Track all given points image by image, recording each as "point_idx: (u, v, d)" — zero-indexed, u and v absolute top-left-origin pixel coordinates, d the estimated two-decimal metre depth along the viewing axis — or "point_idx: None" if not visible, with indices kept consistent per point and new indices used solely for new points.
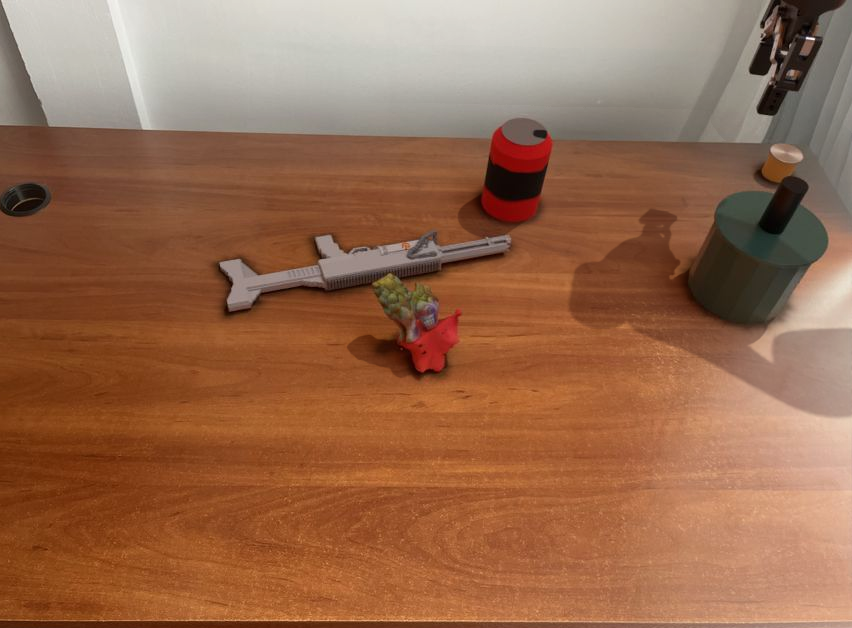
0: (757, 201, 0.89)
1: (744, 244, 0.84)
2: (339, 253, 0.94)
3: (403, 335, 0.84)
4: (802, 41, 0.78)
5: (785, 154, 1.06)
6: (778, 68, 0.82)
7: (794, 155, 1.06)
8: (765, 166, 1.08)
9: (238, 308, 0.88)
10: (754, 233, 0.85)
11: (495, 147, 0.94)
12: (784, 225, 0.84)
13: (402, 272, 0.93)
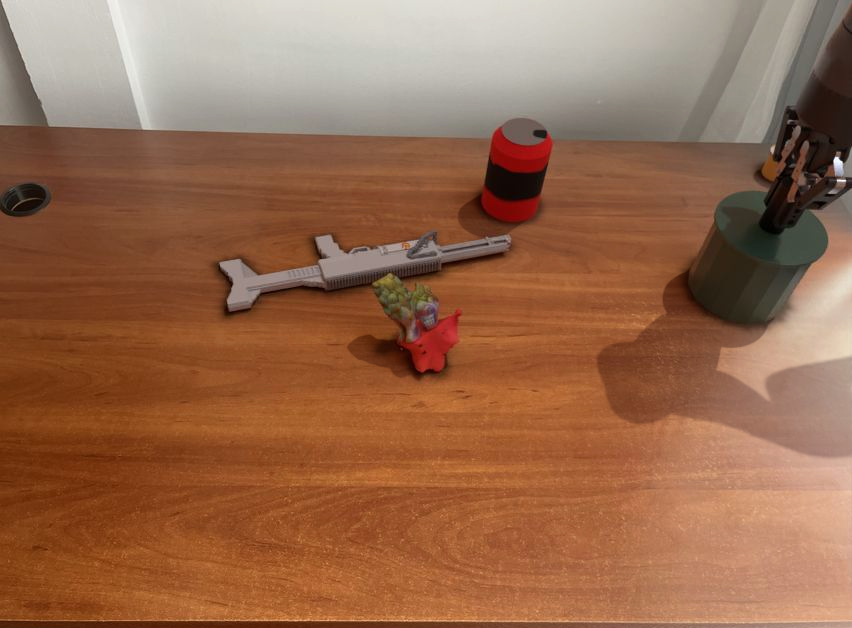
0: (757, 201, 0.89)
1: (744, 244, 0.84)
2: (339, 253, 0.94)
3: (403, 335, 0.84)
4: (831, 187, 0.74)
5: None
6: (799, 190, 0.79)
7: None
8: (765, 166, 1.08)
9: (238, 308, 0.88)
10: (754, 233, 0.85)
11: (495, 147, 0.94)
12: None
13: (402, 272, 0.93)
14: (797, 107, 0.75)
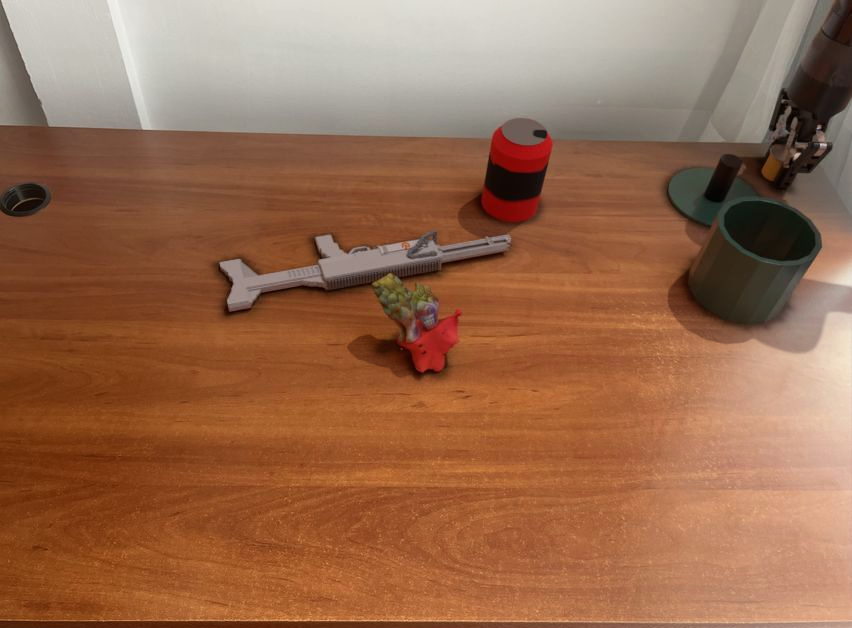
0: (704, 176, 1.07)
1: (691, 210, 1.03)
2: (339, 253, 0.94)
3: (403, 335, 0.84)
4: (816, 149, 0.98)
5: (785, 154, 1.06)
6: (792, 157, 1.03)
7: None
8: (765, 166, 1.08)
9: (238, 308, 0.88)
10: (700, 201, 1.04)
11: (495, 147, 0.94)
12: (724, 195, 1.03)
13: (402, 272, 0.93)
14: (788, 91, 0.99)
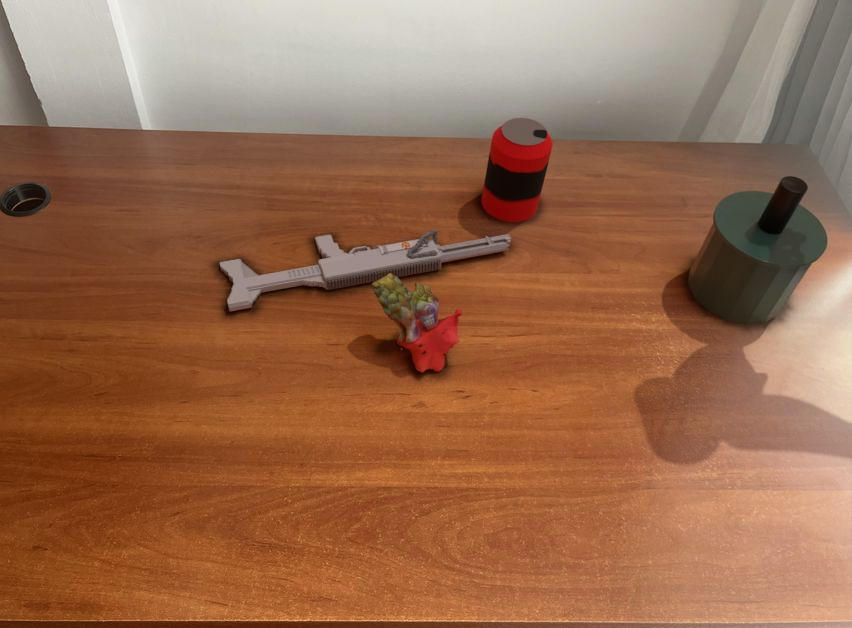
0: (756, 201, 0.89)
1: (743, 244, 0.84)
2: (339, 253, 0.94)
3: (403, 335, 0.84)
4: None
5: None
6: None
7: None
8: None
9: (238, 308, 0.88)
10: (753, 233, 0.85)
11: (495, 147, 0.94)
12: (783, 225, 0.84)
13: (402, 271, 0.93)
14: None
